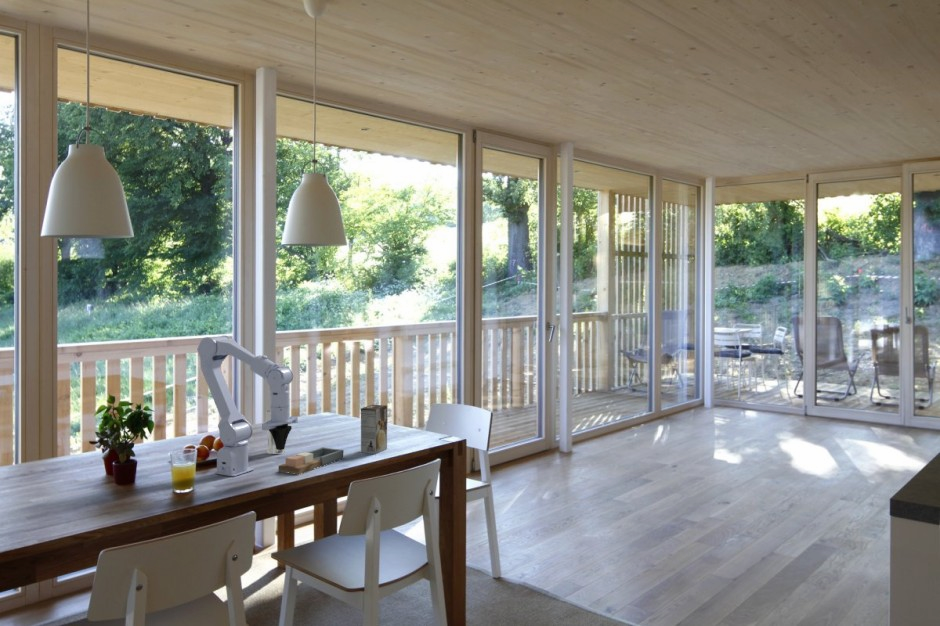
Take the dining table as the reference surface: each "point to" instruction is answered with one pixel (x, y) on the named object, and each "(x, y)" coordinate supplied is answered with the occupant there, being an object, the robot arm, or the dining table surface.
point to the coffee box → (373, 429)
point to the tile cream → (306, 457)
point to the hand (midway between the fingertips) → (280, 449)
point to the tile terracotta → (294, 461)
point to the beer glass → (271, 438)
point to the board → (301, 467)
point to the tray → (327, 455)
